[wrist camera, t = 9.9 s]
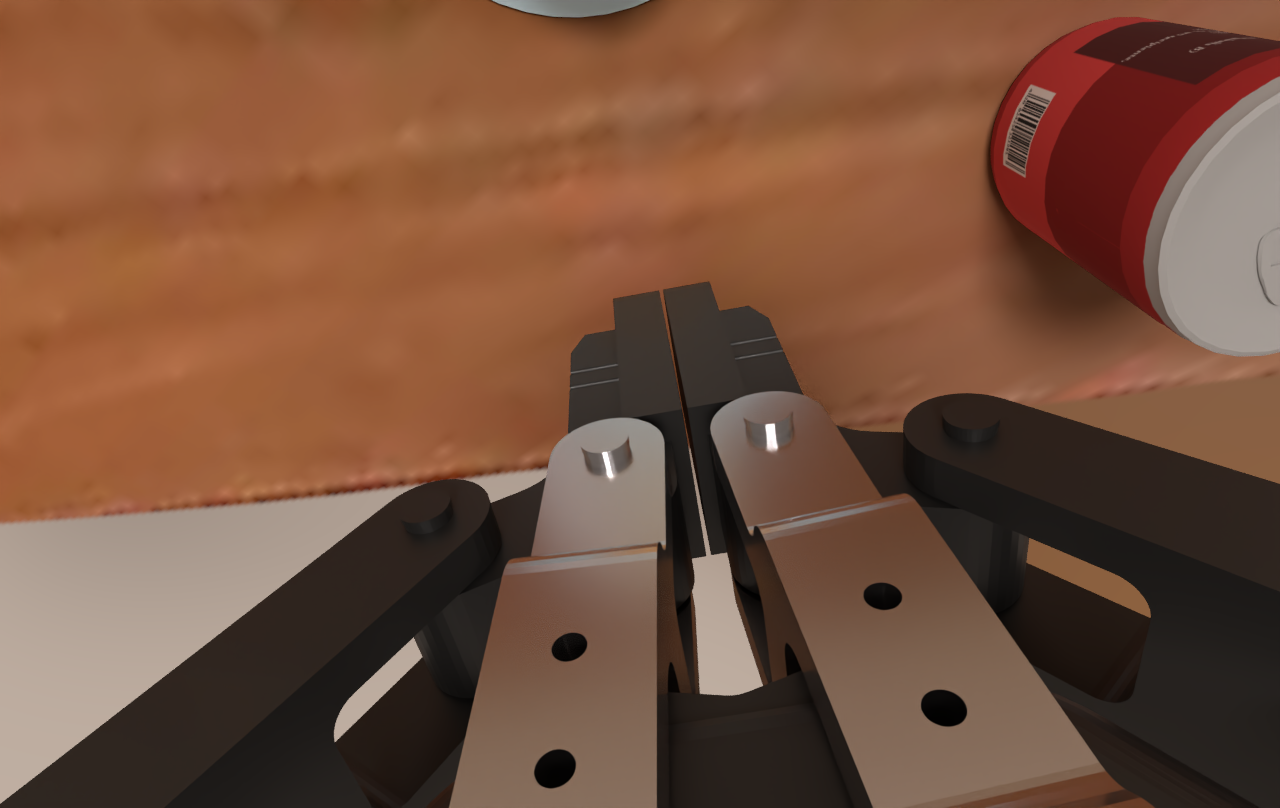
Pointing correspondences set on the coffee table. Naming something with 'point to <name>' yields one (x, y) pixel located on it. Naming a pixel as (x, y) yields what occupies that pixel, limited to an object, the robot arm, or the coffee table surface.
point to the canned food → (1156, 171)
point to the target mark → (571, 6)
